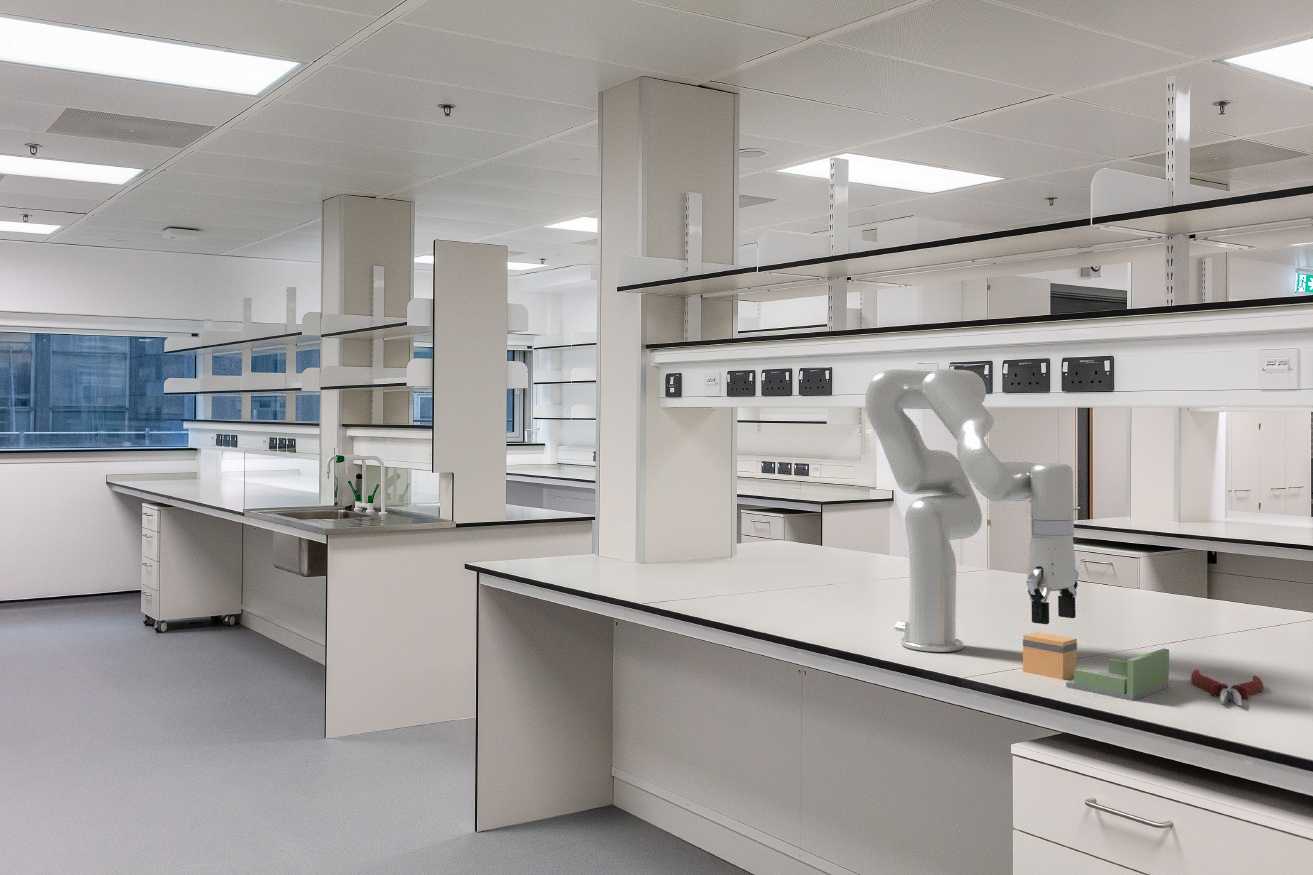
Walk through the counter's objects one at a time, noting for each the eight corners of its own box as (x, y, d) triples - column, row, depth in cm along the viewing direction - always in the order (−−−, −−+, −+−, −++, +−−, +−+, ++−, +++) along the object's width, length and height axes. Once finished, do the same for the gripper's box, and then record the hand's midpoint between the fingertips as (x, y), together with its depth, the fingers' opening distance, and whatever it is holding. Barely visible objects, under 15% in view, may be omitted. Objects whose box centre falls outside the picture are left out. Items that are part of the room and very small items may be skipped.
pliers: (1193, 706, 178) (1193, 691, 178) (1190, 680, 196) (1190, 666, 196) (1271, 716, 173) (1272, 700, 173) (1261, 688, 191) (1261, 674, 191)
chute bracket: (1066, 686, 189) (1066, 648, 189) (1103, 674, 198) (1103, 638, 198) (1132, 700, 180) (1133, 660, 180) (1168, 687, 189) (1169, 649, 189)
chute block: (1022, 671, 200) (1023, 635, 200) (1036, 667, 204) (1036, 631, 203) (1062, 680, 194) (1063, 642, 194) (1076, 675, 197) (1077, 638, 197)
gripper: (1056, 525, 207) (1058, 612, 207) (1009, 530, 195) (1011, 623, 195) (1094, 527, 201) (1095, 617, 201) (1047, 532, 190) (1049, 628, 189)
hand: (1053, 620), depth 198 cm, fingers open, 9 cm apart
